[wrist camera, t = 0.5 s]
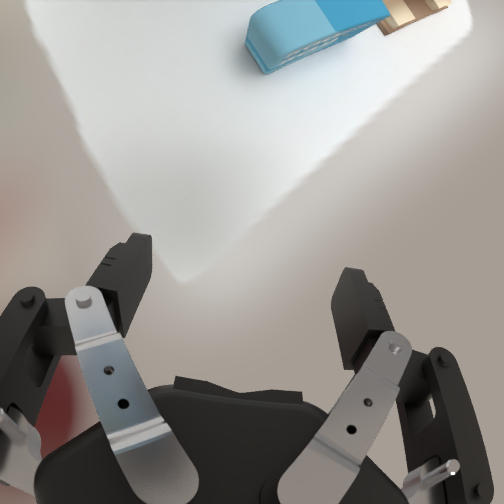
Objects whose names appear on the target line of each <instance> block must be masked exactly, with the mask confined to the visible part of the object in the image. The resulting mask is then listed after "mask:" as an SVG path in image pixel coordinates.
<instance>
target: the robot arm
mask: <svg viewBox="0 0 504 504" xmlns="http://www.w3.org/2000/svg"><path fill="white" fill-rule="evenodd" d="M151 273H152V237H151V235H146V234H140V233H132V235H131V236H130V237H129V239H128V241H127V242H126V243H118V244H117V245H115V246H113V247H112V248H111V249H110V250H109V251H108V253H107V254H106V255H105V258H103V260H102V262H101V264H99V266H98V267H97V269H96V270H95V272H94V273H93V275H92V276H91V278H90V279H89V281H88V282H87V284H86V285H85V286H80V287H77V288H75V289H73V290H71V291H70V292H69V293H68V294H67V296H66V298H55V299H46V297H45V294H44V292H43V291H42V290H41V289H40V288H37V287H26V288H24V289H21V290H20V291H18V292H17V293H16V294H15V295H14V296H13V298H12V300H11V301H10V302H9V304H8V305H7V307H6V308H5V310H4V311H3V313H2V315H1V316H0V484H2V485H6V486H9V485H12V486H14V487H16V488H18V489H21V490H23V491H25V492H27V493H29V494H31V495H33V496H35V498H36V502H37V504H490V503H491V501H492V499H493V495H494V486H493V481H492V476H491V471H490V467H489V463H488V458H487V454H486V450H485V446H484V442H483V439H482V435H481V431H480V428H479V425H478V421H477V418H476V415H475V411H474V408H473V405H472V402H471V399H470V396H469V393H468V390H467V387H466V385H465V382H464V379H463V377H462V374H461V371H460V368H459V366H458V363H457V361H456V359H455V357H454V356H453V355H452V354H451V352H449V351H448V350H446V349H444V348H442V347H435V348H433V349H432V350H431V351H430V353H429V354H428V355H426V354H424V353H421V352H418V351H415V350H412V346H411V344H410V342H409V341H408V339H407V338H406V337H404V336H403V335H402V334H400V333H398V332H395V329H394V327H393V324H392V322H391V319H390V316H389V314H388V311H387V309H386V306H385V304H384V302H383V299H382V297H381V294H380V292H379V290H378V289H377V288H376V287H375V286H374V285H373V284H372V283H369V282H368V281H367V278H366V276H365V273H364V271H363V270H361V269H354V268H348V267H346V268H344V270H343V272H342V274H341V277H340V279H339V282H338V284H337V287H336V289H335V291H334V294H333V296H332V301H331V310H332V315H333V319H334V323H335V328H336V333H337V338H338V342H339V347H340V352H341V357H342V362H343V367H344V370H354V372H355V375H354V376H353V378H352V379H351V381H350V382H349V384H348V385H347V387H346V388H345V390H344V391H343V393H342V394H341V395H340V397H339V398H338V400H337V401H336V403H335V404H334V406H333V407H332V408H331V410H330V411H329V412H328V413H326V412H324V411H323V410H321V409H320V408H318V407H316V406H315V405H313V404H310V403H308V402H304V401H303V398H302V392H297V391H284V390H265V391H255V392H246V393H238V392H234V391H232V390H229V389H226V388H223V387H221V386H218V385H215V384H213V383H210V382H207V381H202V380H195V379H190V378H185V377H179V376H176V377H175V381H174V385H163V386H158V387H154V388H151V389H149V390H147V389H146V387H145V385H144V383H143V381H142V379H141V377H140V375H139V373H138V371H137V369H136V367H135V364H134V362H133V360H132V358H131V356H130V354H129V352H128V349H127V347H126V345H125V343H124V341H123V339H122V338H125V336H126V334H127V332H128V329H129V326H130V324H131V322H132V320H133V317H134V315H135V313H136V310H137V308H138V306H139V303H140V301H141V299H142V297H143V294H144V292H145V290H146V288H147V285H148V283H149V281H150V278H151ZM61 355H77V356H78V359H79V363H80V366H81V369H82V372H83V375H84V378H85V381H86V384H87V387H88V390H89V393H90V395H91V398H92V401H93V403H94V406H95V408H96V411H97V414H98V416H99V419H100V421H99V422H98V423H96V424H95V425H93V426H92V427H90V428H88V429H87V430H86V431H84V432H82V433H81V434H79V435H78V436H76V437H75V438H73V439H71V440H70V441H68V442H67V443H65V444H64V445H62V446H60V447H59V448H57V449H56V450H54V451H52V452H51V453H50V454H48V455H47V456H46V457H45V458H44V459H43V460H42V459H41V455H40V447H41V439H40V436H39V433H38V432H37V430H36V429H35V428H34V426H35V423H36V420H37V417H38V414H39V412H40V409H41V406H42V403H43V400H44V398H45V395H46V392H47V390H48V387H49V385H50V382H51V380H52V377H53V375H54V372H55V370H56V367H57V365H58V363H59V360H60V358H61ZM431 398H433V402H434V406H435V409H436V415H435V418H433V414H432V410H431V406H430V402H429V400H430V399H431ZM395 400H396V404H397V409H398V413H399V419H400V424H401V430H402V436H403V442H404V447H405V454H406V461H407V468H408V474H407V476H406V477H405V479H404V481H403V487H402V488H401V489H400V488H399V487H398V486H397V485H396V484H394V482H393V481H392V480H390V479H389V477H388V476H386V474H385V473H384V472H383V471H382V470H381V469H380V468H378V466H377V465H376V464H375V463H374V462H373V461H372V460H371V459H370V458H369V457H368V456H367V453H368V451H369V449H370V448H371V446H372V444H373V442H374V440H375V439H376V437H377V435H378V433H379V431H380V429H381V428H382V426H383V424H384V422H385V420H386V418H387V416H388V414H389V412H390V410H391V408H392V406H393V404H394V401H395Z"/></svg>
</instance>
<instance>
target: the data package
mask: <svg viewBox="0 0 504 504" xmlns="http://www.w3.org/2000/svg"><path fill="white" fill-rule="evenodd" d="M389 16H390V12H389V10H388V9H387V7H386V5H385V4H384V2H383V1H382V0H279V1H277V2H274V3H272V4H269V5H267V6H265V7H263V8H261V9H260V10H258V11H257V12H255V13H254V14H253V15H252V16H251V18H250V22H249V26H248V31H247V36H246V40H245V45H246V46H247V48H248V49H249V51H250V52H251V54H252V55H253V57H254V58H255V60H256V61H257V63H258V65H259V66H260V68H261V69H262V71H263V72H264V74H270V73H272V72H274V71H276V70H278V69H280V68H282V67H285V66H287V65H289V64H291V63H293V62H295V61H297V60H299V59H302V58H304V57H306V56H308V55H311V54H313V53H315V52H318V51H320V50H322V49H325V48H327V47H329V46H332V45H334V44H337V43H339V42H342V41H344V40H347V39H349V38H351V37H353V36H355V35H356V34H358V33H360V32H362V31H363V30H365V29H367V28H369V27H371V26H372V25H374V24H376V23H378V22H380V21H382V20H384V19H386V18H387V17H389Z"/></svg>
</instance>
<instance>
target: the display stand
mask: <svg viewBox="0 0 504 504" xmlns="http://www.w3.org/2000/svg"><path fill="white" fill-rule="evenodd" d="M382 1H383V2H384V4H385V5H386V7H387V9H388V10H389V12H390V16H389V17H387V18H386V19H384V20H382V21H380V22H378V23H377V25H378V26H379V28H380V29H381V31H382V32H383V33H384V35H385V36H386V35H388V34H390V33H392V32H394V31H396V30H398V29H400V28H403V27H405V26H407V25H409V24H411V23H413V22H416V21H418V20H420V19H422V18H425V17H427V16H429V15H431V14H434V13H436V12H439V11H441V10H444V9H446V8H448V6H447V5H449V4H452V2H451V1H450V0H382Z"/></svg>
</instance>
